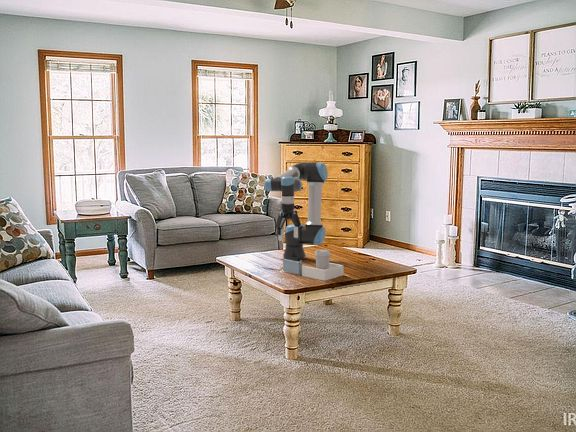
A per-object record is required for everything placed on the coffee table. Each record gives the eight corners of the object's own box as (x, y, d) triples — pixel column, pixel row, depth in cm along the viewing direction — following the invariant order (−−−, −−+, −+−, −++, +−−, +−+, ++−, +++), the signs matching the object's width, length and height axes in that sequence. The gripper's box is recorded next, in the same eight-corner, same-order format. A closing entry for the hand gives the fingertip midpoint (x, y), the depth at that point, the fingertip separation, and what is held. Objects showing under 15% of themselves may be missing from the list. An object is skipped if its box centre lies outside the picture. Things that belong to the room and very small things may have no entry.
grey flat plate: (300, 274, 338) (300, 262, 337) (298, 274, 337) (298, 262, 336) (284, 270, 347) (284, 259, 346) (282, 271, 346) (282, 259, 345)
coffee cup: (313, 273, 340) (313, 249, 338) (329, 273, 341) (329, 248, 339) (315, 277, 331) (315, 252, 328) (332, 277, 331) (331, 252, 329)
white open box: (299, 275, 337) (299, 260, 335) (318, 270, 349) (318, 255, 348) (324, 280, 323) (324, 265, 322) (343, 275, 336) (343, 260, 335)
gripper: (278, 205, 321) (278, 242, 324) (306, 201, 339) (306, 236, 342) (268, 204, 326) (269, 241, 329) (297, 201, 344) (297, 235, 347)
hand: (288, 239), depth 336 cm, fingers open, 13 cm apart
